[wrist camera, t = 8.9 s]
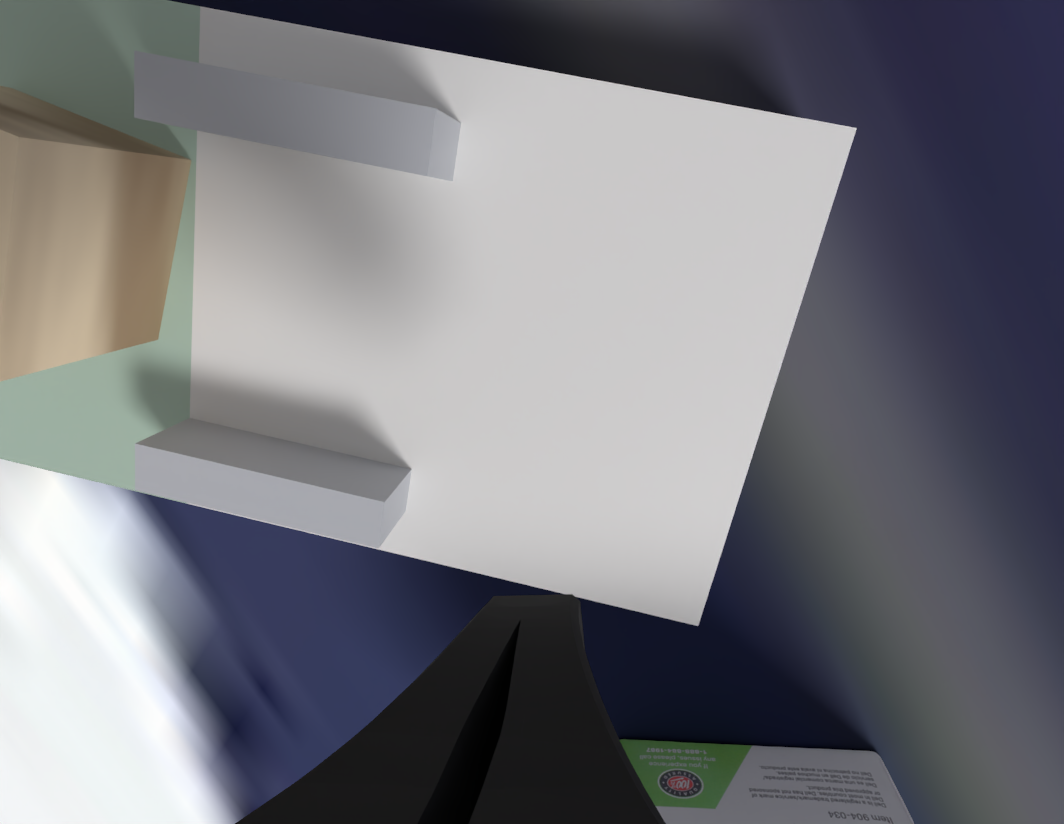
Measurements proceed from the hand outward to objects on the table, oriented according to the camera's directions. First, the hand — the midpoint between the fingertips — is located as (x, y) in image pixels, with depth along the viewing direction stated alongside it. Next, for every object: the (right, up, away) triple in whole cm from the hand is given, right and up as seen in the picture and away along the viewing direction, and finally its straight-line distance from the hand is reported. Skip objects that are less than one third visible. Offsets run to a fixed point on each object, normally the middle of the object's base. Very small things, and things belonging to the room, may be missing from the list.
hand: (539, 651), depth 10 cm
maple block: (-11, +8, +6) cm, 15 cm away
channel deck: (-8, +8, +9) cm, 14 cm away
